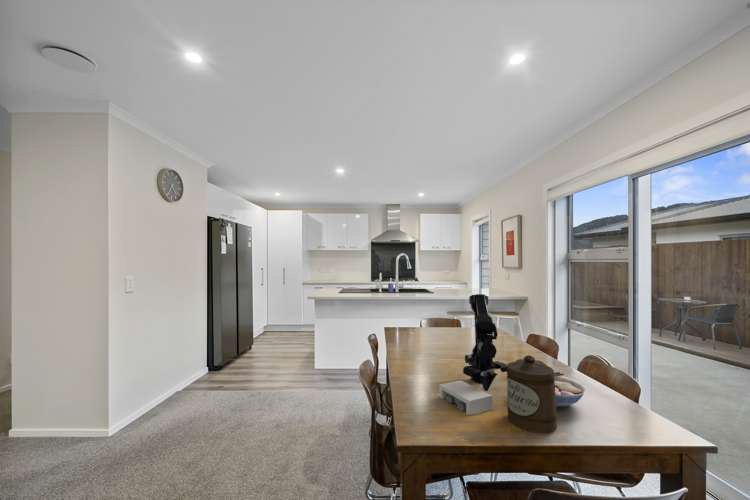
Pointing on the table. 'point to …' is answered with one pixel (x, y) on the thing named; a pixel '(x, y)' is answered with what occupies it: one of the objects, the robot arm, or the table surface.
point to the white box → (467, 397)
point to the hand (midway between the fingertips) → (485, 390)
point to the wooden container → (531, 396)
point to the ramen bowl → (567, 390)
